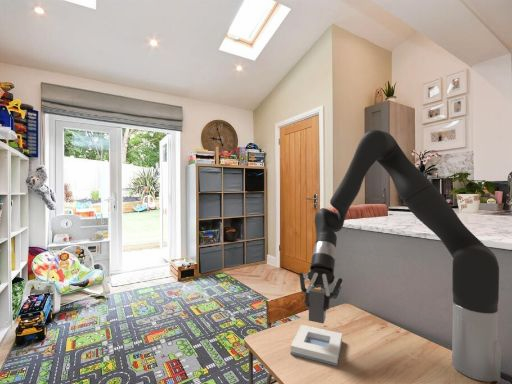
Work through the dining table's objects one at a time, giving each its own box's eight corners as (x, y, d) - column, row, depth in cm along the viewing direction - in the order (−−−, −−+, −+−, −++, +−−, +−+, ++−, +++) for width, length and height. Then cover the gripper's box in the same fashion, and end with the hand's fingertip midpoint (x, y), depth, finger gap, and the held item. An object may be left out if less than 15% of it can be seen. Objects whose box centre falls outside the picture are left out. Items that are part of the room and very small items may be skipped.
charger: (325, 318, 82) (326, 287, 81) (323, 323, 78) (324, 291, 78) (311, 315, 83) (311, 285, 83) (308, 320, 80) (309, 289, 80)
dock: (342, 341, 84) (342, 333, 84) (337, 366, 72) (337, 356, 72) (301, 332, 89) (301, 324, 89) (290, 354, 77) (290, 345, 77)
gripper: (300, 249, 90) (290, 299, 79) (345, 254, 84) (340, 308, 74) (304, 261, 95) (294, 309, 84) (346, 266, 89) (342, 318, 79)
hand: (316, 308), depth 79 cm, fingers closed on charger, 4 cm apart
